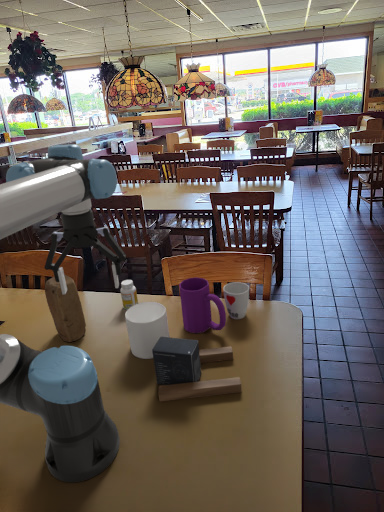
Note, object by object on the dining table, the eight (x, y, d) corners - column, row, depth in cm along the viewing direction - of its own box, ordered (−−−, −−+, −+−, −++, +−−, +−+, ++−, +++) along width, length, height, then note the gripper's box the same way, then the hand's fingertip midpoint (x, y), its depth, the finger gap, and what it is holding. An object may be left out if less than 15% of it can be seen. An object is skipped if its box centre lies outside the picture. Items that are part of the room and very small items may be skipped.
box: (202, 372, 100) (199, 339, 96) (195, 389, 95) (191, 355, 91) (164, 367, 103) (160, 335, 99) (155, 384, 98) (150, 351, 94)
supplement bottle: (133, 300, 139) (129, 277, 135) (141, 306, 135) (137, 281, 131) (120, 306, 136) (116, 282, 132) (128, 312, 132) (124, 287, 128)
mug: (195, 315, 126) (191, 274, 121) (234, 329, 117) (232, 286, 111) (177, 328, 120) (172, 286, 114) (217, 344, 111) (214, 299, 105)
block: (90, 335, 121) (77, 279, 113) (68, 346, 116) (54, 288, 108) (73, 323, 128) (60, 270, 120) (52, 333, 123) (37, 278, 116)
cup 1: (161, 362, 106) (155, 325, 101) (124, 356, 110) (117, 320, 105) (176, 337, 116) (172, 303, 111) (141, 332, 120) (136, 299, 115)
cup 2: (220, 312, 126) (218, 286, 122) (241, 306, 129) (240, 279, 125) (233, 324, 119) (231, 296, 116) (254, 316, 122) (254, 289, 118)
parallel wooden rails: (241, 392, 92) (241, 384, 92) (159, 401, 92) (158, 393, 91) (231, 353, 106) (231, 346, 105) (160, 361, 106) (159, 354, 105)
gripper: (128, 202, 97) (138, 277, 105) (27, 212, 95) (46, 288, 102) (127, 209, 90) (138, 289, 98) (18, 220, 88) (39, 301, 95)
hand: (91, 289), depth 100 cm, fingers open, 13 cm apart
